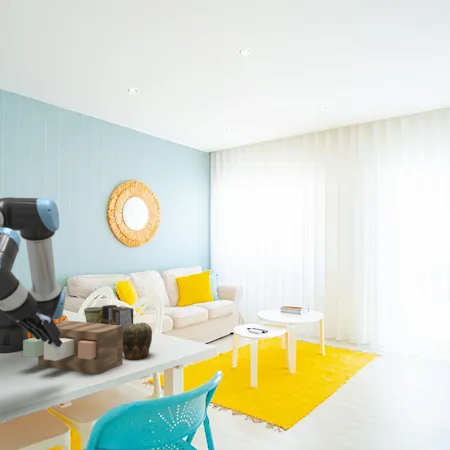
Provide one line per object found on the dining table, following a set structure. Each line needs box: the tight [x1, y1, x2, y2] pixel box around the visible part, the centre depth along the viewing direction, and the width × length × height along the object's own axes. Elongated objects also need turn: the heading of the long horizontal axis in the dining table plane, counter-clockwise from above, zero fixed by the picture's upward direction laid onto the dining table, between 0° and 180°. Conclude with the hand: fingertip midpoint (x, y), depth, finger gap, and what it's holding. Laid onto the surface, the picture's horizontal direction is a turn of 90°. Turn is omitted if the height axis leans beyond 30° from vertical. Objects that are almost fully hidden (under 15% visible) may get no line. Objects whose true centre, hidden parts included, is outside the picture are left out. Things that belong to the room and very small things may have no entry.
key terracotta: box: [78, 339, 97, 360], centre depth 131 cm, size 5×9×5 cm, turn 157°
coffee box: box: [109, 305, 134, 333], centre depth 159 cm, size 9×6×16 cm
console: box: [37, 319, 124, 375], centre depth 138 cm, size 26×12×13 cm, turn 67°
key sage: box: [22, 337, 46, 359], centre depth 134 cm, size 5×9×5 cm, turn 157°
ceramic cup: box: [83, 306, 102, 324], centre depth 196 cm, size 13×10×10 cm
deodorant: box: [101, 304, 118, 324], centre depth 171 cm, size 6×6×15 cm
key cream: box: [44, 337, 75, 361], centre depth 130 cm, size 5×9×5 cm, turn 157°
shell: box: [123, 322, 153, 361], centre depth 148 cm, size 11×11×12 cm
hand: (62, 350), depth 118 cm, fingers closed
